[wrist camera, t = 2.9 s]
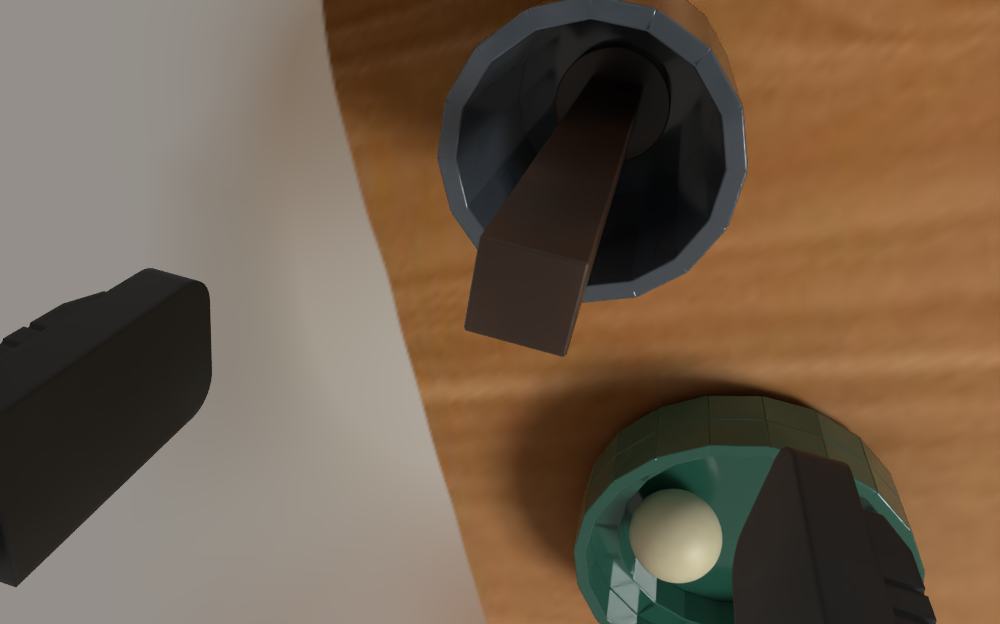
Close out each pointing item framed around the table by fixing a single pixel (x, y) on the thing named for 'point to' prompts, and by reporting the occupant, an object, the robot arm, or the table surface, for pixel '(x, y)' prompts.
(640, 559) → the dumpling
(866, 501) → the bowl
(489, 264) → the dark brown wooden bar
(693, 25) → the crock
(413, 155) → the table surface
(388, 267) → the table surface
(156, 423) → the robot arm
